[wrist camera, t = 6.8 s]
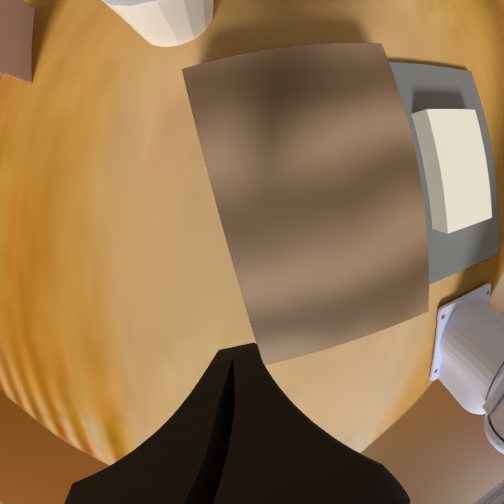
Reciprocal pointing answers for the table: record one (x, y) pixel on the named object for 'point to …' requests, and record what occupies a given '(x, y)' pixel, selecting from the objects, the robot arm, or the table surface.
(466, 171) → the tile
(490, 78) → the table surface
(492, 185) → the mat
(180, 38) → the white cup
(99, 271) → the table surface
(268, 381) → the robot arm
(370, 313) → the platform
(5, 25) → the greeting card
